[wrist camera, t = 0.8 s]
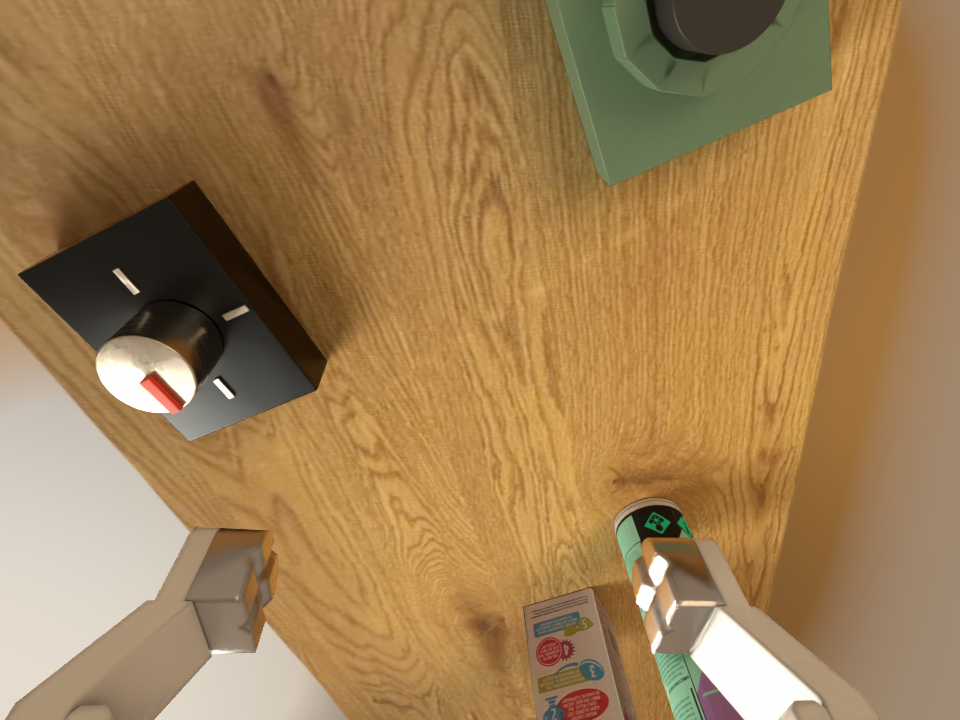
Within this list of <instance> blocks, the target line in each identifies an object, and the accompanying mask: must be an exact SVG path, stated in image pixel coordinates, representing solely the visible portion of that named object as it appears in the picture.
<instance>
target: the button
mask: <svg viewBox="0 0 960 720" xmlns="http://www.w3.org/2000/svg"><path fill="white" fill-rule="evenodd" d="M784 2H785V0H654V11H655V16H656V20H657V23H658V26H659V28H660V30H661V32H662V33H663V35H664V36H665V37H666V39H667V40H668V41H669V42H671V43H672V44H673V45H674V46H676V47H678V48H680V49H682V50H685V51H690V52H697V53H704V54H712V55H721V54H727V53H731V52H734V51H737V50H739V49H742V48H743V47H745V46H747V45H749V44H750V43H751V42H753V41H754V40H756V39H757V38H758V37H759V36H760V35H761V34H762V33H763V32H764V31H765V30H766V29H767V28H768V27H769V26H770V24H771V23H772V22H773V21H774V19H775V18H776V16H777V15H778V13H779V12H780V10H781V8H782V6H783V4H784Z"/></svg>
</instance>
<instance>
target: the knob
mask: <svg viewBox="0 0 960 720" xmlns="http://www.w3.org/2000/svg"><path fill="white" fill-rule="evenodd" d="M222 352H223V342H222V338H221V335H220V333H219V331H218V329H217V327H216V326H215V325H214V323H213V322H212V321H211V320H210V319H209V318H208V317H207V316H206V315H204V314H203V313H201V312H200V311H198V310H197V309H195V308H193V307H191V306H188V305H186V304H183V303H179V302H173V301H160V302H154V303H151V304H148V305H146V306H145V307H143V308H142V309H141V310H139V311H138V312H137V313H136V314H135V315H134V316H133V317H132V318H131V319H130V320H129V321H128V322H127V323H126V324H125V325H124V326H122V327H121V328H120V329H119V330H118V331H117V332H116V333H115V334H114V335H113V336H112V337H111V338H110V339H109V340H108V341H107V342H105V343H104V344H103V345H102V346H101V348H100V349H99V351H98V353H97V355H96V361H95V366H96V371H97V374H98V377H99V379H100V380H101V382H102V384H103V385H104V386H105V387H106V389H107V390H108V391H109V392H110V393H111V394H113V395H114V396H115V397H116V398H118V399H119V400H121V401H122V402H124V403H126V404H128V405H130V406H132V407H135V408H137V409H141V410H144V411H149V412H157V413H164V412H170V413H171V414H174V413H177V412H179V411H181V410H182V408H183V407H185V406H186V405H188V404H189V403H190V402H191V401H192V400H193V398H194V397H195V395H196V394H197V392H198V391H199V389H200V388H201V386H202V385H203V383H204V382H205V380H206V379H207V377H208V376H209V374H210V373H211V371H212V370H213V369H214V367H215V366H216V364H217V363H218V361H219V360H220V358H221V356H222Z"/></svg>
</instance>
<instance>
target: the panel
mask: <svg viewBox="0 0 960 720" xmlns="http://www.w3.org/2000/svg"><path fill="white" fill-rule="evenodd" d="M18 276H19V277H20V278H21V279H22V280H23V281H24V282H25V283H26V284H27V285H28V286H29V287H30V288H31V289H32V290H33V291H35V292H36V293H37V294H38V295H39V296H40V297H41V298H42V299H43V300H44V301H45V302H46V303H47V304H48V305H49V306H50V307H51V308H52V309H53V310H54V311H55V312H56V313H57V314H58V315H59V316H60V317H61V318H62V319H63V320H64V321H66V322H67V323H68V324H69V325H70V326H71V327H72V328H73V329H74V330H75V331H76V332H77V333H78V334H79V335H80V336H81V337H82V338H83V339H84V340H85V341H86V342H87V343H88V344H89V345H90V346H91V347H92V348H93V349H94V350H95V351H96V352H98V351H99V349H100V348H101V346H102V345H103V344H104V343H105V342H107V341H108V340H109V339H110V338H111V337H112V336H113V335H114V334H115V333H116V332H117V331H118V330H119V329H120V328H121V327H122V326H124V325H125V324H126V323H127V322H128V321H129V320H130V319H131V318H132V317H133V316H134V315H135V314H136V313H137V312H138V311H139V310H141V309H142V308H143V307H145V306H146V305H148V304H151V303H154V302H160V301H173V302H179V303H183V304H186V305H188V306H191V307H193V308H195V309H197V310H198V311H200V312H201V313H203V314H204V315H206V316H207V317H208V318H209V319H210V320H211V321H212V322H213V323H214V325H215V326H216V327H217V329H218V331H219V333H220V335H221V338H222V342H223V352H222V356H221V358H220V360H219V361H218V363H217V364H216V366H215V367H214V369H213V370H212V371H211V373H210V374H209V376H208V377H207V379H206V380H205V382H204V383H203V385H202V386H201V388H200V389H199V391H198V392H197V394H196V395H195V397H194V398H193V400H192V401H191V402H190V403H189V404H188V405H186V406H185V407H183V408H182V410H181V411H179V412H177V413H174V414H171V413H170V412H164V413H161V414H162V415H163V416H164V417H165V418H166V419H167V420H168V421H169V422H170V423H171V424H172V425H173V426H174V427H175V428H176V429H177V430H178V431H179V432H180V433H181V434H182V435H183V436H184V437H185V438H186V439H187V440H188V441H193V440H195V439H198V438H200V437H202V436H205V435H207V434H210V433H212V432H215V431H217V430H220V429H222V428H225V427H227V426H230V425H232V424H235V423H237V422H239V421H242V420H244V419H247V418H249V417H252V416H254V415H257V414H259V413H262V412H264V411H267V410H269V409H271V408H274V407H276V406H279V405H281V404H284V403H286V402H289V401H291V400H294V399H296V398H299V397H301V396H304V395H306V394H308V393H311V392H313V391H316V390H317V389H318V386H319V383H320V381H321V378H322V375H323V372H324V369H325V367H326V364H327V360H326V359H325V357H324V356H323V355H322V353H321V352H320V351H319V349H318V348H317V347H316V345H315V344H314V343H313V341H312V340H311V338H310V337H309V336H308V334H307V333H306V332H305V330H304V329H303V328H302V326H301V325H300V324H299V322H298V321H297V319H296V318H295V317H294V315H293V314H292V313H291V311H290V310H289V309H288V307H287V306H286V305H285V303H284V302H283V300H282V299H281V298H280V296H279V295H278V294H277V292H276V291H275V290H274V288H273V287H272V286H271V284H270V283H269V281H268V280H267V279H266V277H265V276H264V275H263V273H262V272H261V271H260V269H259V268H258V267H257V265H256V264H255V262H254V261H253V260H252V258H251V257H250V256H249V254H248V253H247V252H246V250H245V249H244V248H243V246H242V245H241V243H240V242H239V241H238V239H237V238H236V237H235V235H234V234H233V233H232V231H231V230H230V229H229V227H228V226H227V224H226V223H225V222H224V220H223V219H222V218H221V216H220V215H219V214H218V212H217V211H216V210H215V208H214V207H213V205H212V204H211V203H210V201H209V200H208V199H207V197H206V196H205V195H204V193H203V192H202V191H201V189H200V188H199V186H198V185H197V184H196V182H195V181H190V182H188V183H187V184H185V185H183V186H181V187H179V188H177V189H175V190H173V191H171V192H169V193H167V194H165V195H163V196H162V197H160V198H158V199H156V200H154V201H152V202H150V203H148V204H146V205H144V206H142V207H140V208H139V209H137V210H135V211H133V212H131V213H129V214H127V215H125V216H123V217H121V218H119V219H117V220H115V221H114V222H112V223H110V224H108V225H106V226H104V227H102V228H100V229H98V230H96V231H94V232H92V233H90V234H89V235H87V236H85V237H83V238H81V239H79V240H77V241H75V242H73V243H71V244H69V245H67V246H66V247H64V248H62V249H60V250H58V251H56V252H54V253H53V254H51V255H49V256H47V257H46V258H44V259H42V260H41V261H39V262H37V263H36V264H34V265H32V266H31V267H29V268H27V269H26V270H24V271H22V272H20V273H19V274H18Z"/></svg>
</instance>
